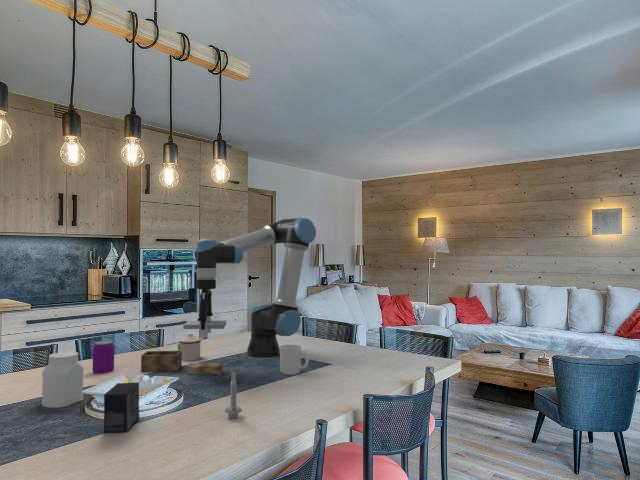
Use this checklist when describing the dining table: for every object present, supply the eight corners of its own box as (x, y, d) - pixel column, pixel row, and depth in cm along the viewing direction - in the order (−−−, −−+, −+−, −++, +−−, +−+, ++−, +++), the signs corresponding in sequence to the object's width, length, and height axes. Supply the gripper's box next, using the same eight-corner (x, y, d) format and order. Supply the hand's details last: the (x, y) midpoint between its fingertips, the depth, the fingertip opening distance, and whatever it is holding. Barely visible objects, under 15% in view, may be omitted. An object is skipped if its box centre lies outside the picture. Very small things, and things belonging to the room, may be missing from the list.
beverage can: (117, 372, 181) (117, 342, 181) (97, 376, 176) (97, 344, 176) (109, 369, 186) (109, 339, 187) (89, 372, 181) (89, 342, 181)
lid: (226, 324, 186) (226, 319, 186) (223, 328, 176) (223, 323, 176) (188, 324, 185) (188, 319, 185) (183, 329, 174) (183, 323, 174)
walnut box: (181, 367, 189) (181, 350, 189) (177, 372, 181) (177, 355, 182) (146, 368, 188) (146, 351, 188) (140, 373, 180) (141, 355, 180)
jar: (59, 409, 139) (60, 359, 140) (35, 406, 142) (36, 357, 142) (89, 397, 150) (89, 351, 150) (66, 394, 153) (66, 349, 153)
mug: (312, 371, 184) (312, 346, 184) (304, 377, 177) (304, 350, 177) (285, 369, 189) (285, 343, 189) (276, 374, 181) (276, 347, 181)
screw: (243, 418, 132) (226, 421, 131) (239, 413, 137) (223, 415, 135) (243, 373, 133) (227, 375, 131) (239, 369, 137) (223, 370, 135)
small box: (116, 419, 132) (117, 382, 132) (139, 418, 132) (140, 381, 133) (102, 433, 121) (102, 393, 121) (127, 433, 122) (128, 393, 122)
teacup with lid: (205, 359, 204) (205, 333, 204) (189, 363, 196) (189, 336, 196) (185, 356, 210) (186, 330, 210) (170, 360, 202) (170, 333, 202)
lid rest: (222, 371, 184) (222, 362, 184) (221, 375, 178) (221, 366, 178) (189, 372, 182) (189, 363, 182) (186, 376, 176) (186, 367, 176)
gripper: (201, 277, 192) (200, 330, 191) (191, 280, 169) (190, 340, 168) (219, 277, 193) (218, 330, 192) (212, 280, 170) (211, 340, 169)
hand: (205, 335), depth 180 cm, fingers closed on lid, 10 cm apart
